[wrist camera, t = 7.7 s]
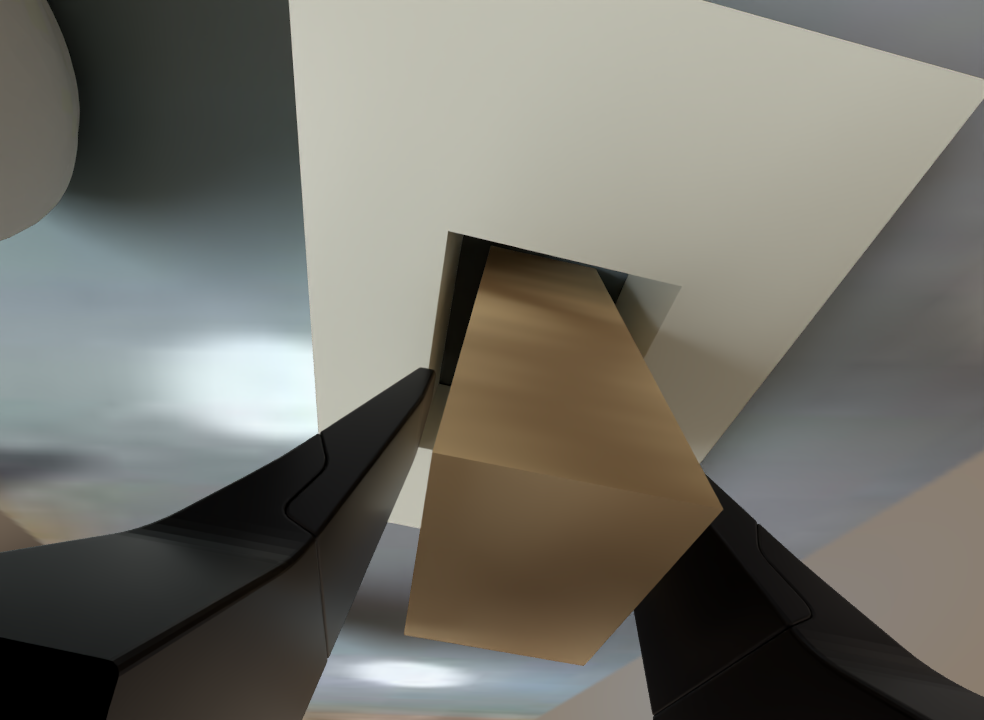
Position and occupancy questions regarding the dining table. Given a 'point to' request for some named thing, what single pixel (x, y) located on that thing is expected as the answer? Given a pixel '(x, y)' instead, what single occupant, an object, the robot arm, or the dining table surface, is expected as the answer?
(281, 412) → the dining table surface
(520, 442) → the wooden bar
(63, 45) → the teacup
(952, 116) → the well block
